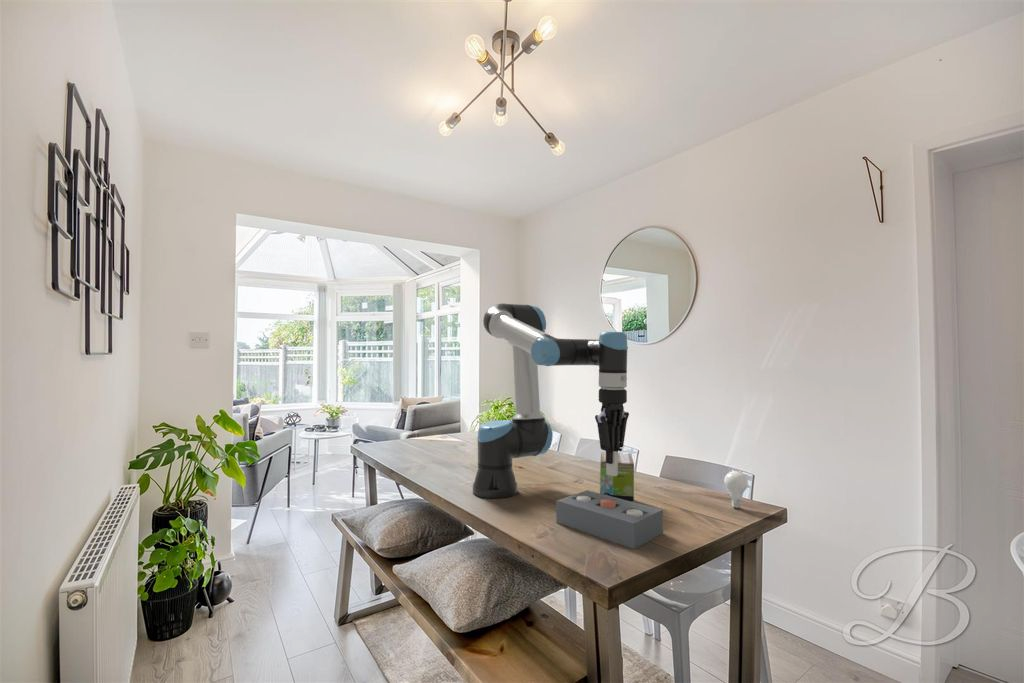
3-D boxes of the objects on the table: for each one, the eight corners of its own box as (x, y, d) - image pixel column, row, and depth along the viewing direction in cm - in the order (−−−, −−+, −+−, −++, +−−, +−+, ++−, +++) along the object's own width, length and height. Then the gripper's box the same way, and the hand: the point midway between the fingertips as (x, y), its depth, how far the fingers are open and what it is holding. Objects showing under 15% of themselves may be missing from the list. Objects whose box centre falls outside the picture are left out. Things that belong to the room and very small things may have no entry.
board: (556, 522, 124) (556, 500, 124) (587, 510, 134) (587, 490, 134) (634, 549, 107) (634, 523, 107) (662, 533, 117) (662, 509, 117)
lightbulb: (720, 506, 137) (719, 470, 138) (733, 503, 140) (733, 467, 141) (739, 513, 132) (738, 475, 132) (753, 509, 135) (752, 472, 135)
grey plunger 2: (623, 533, 115) (623, 511, 115) (632, 529, 118) (631, 508, 118) (637, 538, 112) (637, 515, 112) (645, 533, 115) (645, 511, 115)
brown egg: (597, 521, 121) (597, 500, 121) (605, 517, 123) (605, 497, 124) (610, 525, 118) (610, 504, 118) (618, 521, 121) (618, 500, 121)
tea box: (635, 514, 131) (634, 462, 132) (599, 511, 133) (599, 461, 134) (631, 498, 146) (631, 452, 146) (600, 496, 148) (599, 450, 148)
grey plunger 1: (573, 517, 126) (573, 497, 127) (582, 514, 129) (582, 494, 129) (585, 521, 123) (585, 501, 124) (593, 517, 126) (593, 497, 126)
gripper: (610, 390, 116) (609, 482, 116) (637, 388, 125) (637, 473, 125) (587, 388, 122) (586, 476, 122) (614, 386, 131) (613, 468, 131)
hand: (611, 474), depth 123 cm, fingers closed
